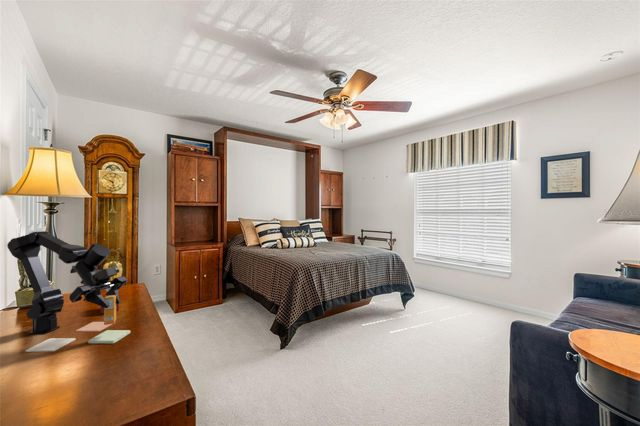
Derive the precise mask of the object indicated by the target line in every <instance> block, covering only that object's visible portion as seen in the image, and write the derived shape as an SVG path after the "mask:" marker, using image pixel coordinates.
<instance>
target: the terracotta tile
mask: <svg viewBox="0 0 640 426" xmlns="http://www.w3.org/2000/svg"><path fill="white" fill-rule="evenodd" d="M112 325H113V324H107V325H104V321H92V322H90V323H88V324H86V325H84V326H82V327H79V328H78V329H76V330H75V333H77V332H78V333H81V332H82V333H83V332H85V333H86V332H87V333H89V332H91V333H92V332H93V333H94V332H95V333H96V332H101V331H103V330H106V329H107V328H109V327H110V326H112Z"/></svg>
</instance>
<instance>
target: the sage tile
mask: <svg viewBox="0 0 640 426" xmlns="http://www.w3.org/2000/svg"><path fill="white" fill-rule="evenodd" d="M129 334H131V330H129V329H127V330H126V329H123V330H121V329H120V330H119V329H117V330H116V329H115V330H114V329H107V330H106V329H105V331H103V332H101V333H99V334H98V335H95V336H94V337H92V338H90V339H88V341H87V343H88V344H116V342H118V341H120V340H122V339H123V338H125V337H126V336H129Z"/></svg>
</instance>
